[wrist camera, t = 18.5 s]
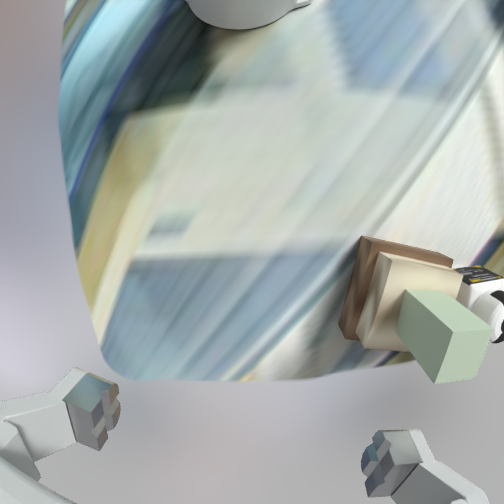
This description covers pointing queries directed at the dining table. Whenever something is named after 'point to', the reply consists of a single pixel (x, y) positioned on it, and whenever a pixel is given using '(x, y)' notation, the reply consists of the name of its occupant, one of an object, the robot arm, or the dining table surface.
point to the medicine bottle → (483, 297)
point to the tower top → (398, 296)
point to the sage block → (442, 335)
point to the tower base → (365, 271)
